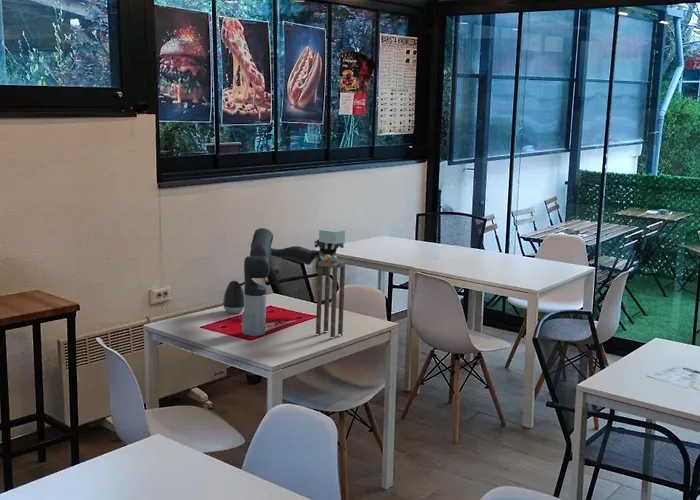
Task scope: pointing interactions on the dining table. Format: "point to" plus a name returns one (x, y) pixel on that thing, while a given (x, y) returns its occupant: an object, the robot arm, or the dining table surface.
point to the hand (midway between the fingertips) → (330, 237)
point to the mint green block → (332, 236)
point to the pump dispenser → (234, 298)
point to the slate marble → (333, 259)
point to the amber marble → (327, 257)
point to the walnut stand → (334, 292)
